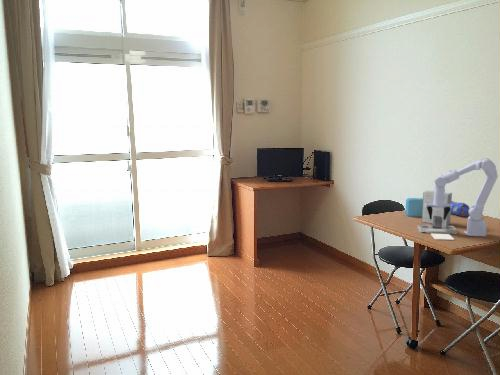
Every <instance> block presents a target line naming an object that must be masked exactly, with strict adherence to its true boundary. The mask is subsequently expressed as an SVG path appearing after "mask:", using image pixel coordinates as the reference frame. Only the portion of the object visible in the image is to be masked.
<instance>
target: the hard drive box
mask: <svg viewBox="0 0 500 375" xmlns="http://www.w3.org/2000/svg"><path fill="white" fill-rule="evenodd" d="M452 197H453V192H448V191H447V192H446V191H445V197H444V204H451V201H453V200H452ZM422 198H423V208H422V216H421V222H422V223H425V222H426V223H427V224H432V225H433V216H441V217H442V226H449V225H450V224H451V215H452V214H451V208H450V211H449V213H448V214H447V217H446V220H444V219H443V216H444V208H441V207H432V209H433V211H432V220H431V219H430V217H429V212H428V210H427V207H425V204H428V203H433V201H434V190H425V191H423V193H422Z"/></svg>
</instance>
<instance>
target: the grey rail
mask: <svg viewBox="0 0 500 375" xmlns="http://www.w3.org/2000/svg"><path fill="white" fill-rule="evenodd" d="M418 229H419V230H418ZM417 230H418V231H419V233H420V232H427V233H426V234H431V233H433V234H450V235H452V234H454V235H457V234H458V229H457V228H456V227H455V226H454V225H447V226H444V225H442V228H433V224H432V225H431V224H417Z"/></svg>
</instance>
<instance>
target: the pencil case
mask: <svg viewBox="0 0 500 375" xmlns="http://www.w3.org/2000/svg"><path fill="white" fill-rule="evenodd" d="M451 204H452V208H451V215H456V216H460V217H462V218H463V217H467V216H468V215H469V213H468V210H469V209H470V208H471V207H470V206H469V205H468V204H466V203H465V202H457V201H453V200H452V201H451Z"/></svg>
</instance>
